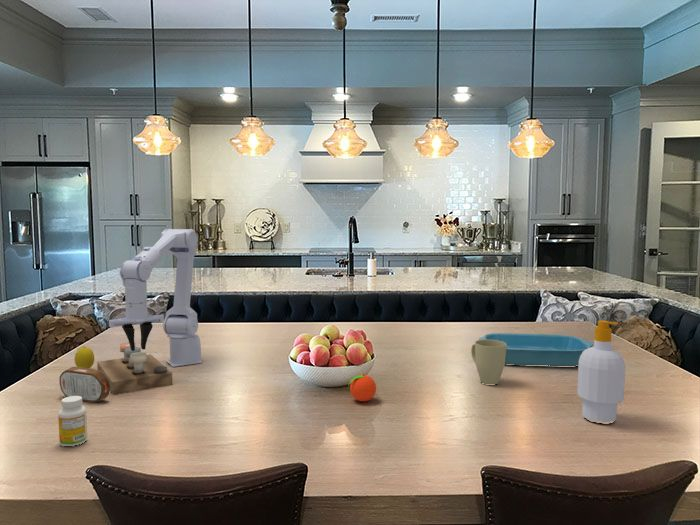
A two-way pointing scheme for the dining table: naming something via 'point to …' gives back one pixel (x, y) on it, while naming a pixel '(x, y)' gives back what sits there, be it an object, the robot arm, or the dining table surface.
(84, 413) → the supplement bottle
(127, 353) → the knob slate
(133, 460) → the dining table surface
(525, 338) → the casserole dish
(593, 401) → the soap bottle
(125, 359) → the peach pink ball
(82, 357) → the lemon
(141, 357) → the knob cream
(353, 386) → the clementine
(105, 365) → the board
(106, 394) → the tin
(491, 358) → the mug
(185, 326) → the robot arm
